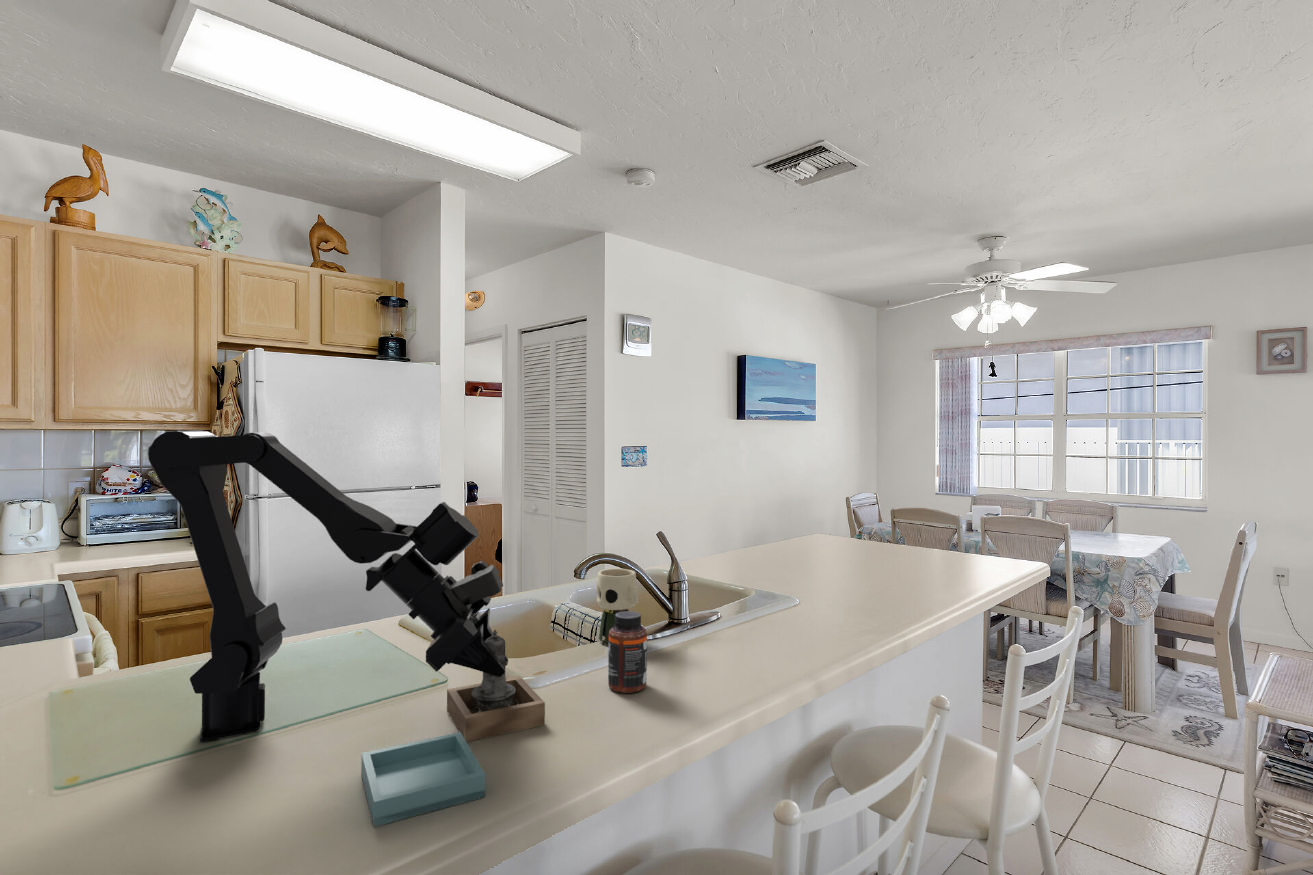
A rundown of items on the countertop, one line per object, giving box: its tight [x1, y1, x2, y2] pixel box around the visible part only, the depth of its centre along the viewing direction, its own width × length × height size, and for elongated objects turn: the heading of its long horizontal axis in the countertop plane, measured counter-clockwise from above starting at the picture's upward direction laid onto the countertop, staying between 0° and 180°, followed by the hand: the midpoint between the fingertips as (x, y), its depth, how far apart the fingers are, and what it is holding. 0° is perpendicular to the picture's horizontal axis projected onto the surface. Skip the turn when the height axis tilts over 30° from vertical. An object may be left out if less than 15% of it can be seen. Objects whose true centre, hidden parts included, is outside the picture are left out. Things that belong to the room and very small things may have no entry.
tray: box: [360, 731, 486, 828], centre depth 73 cm, size 11×11×2 cm
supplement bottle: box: [607, 610, 648, 694], centre depth 102 cm, size 6×6×11 cm
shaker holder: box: [446, 676, 546, 743], centre depth 90 cm, size 10×10×3 cm
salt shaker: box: [472, 629, 516, 713], centre depth 90 cm, size 6×6×12 cm
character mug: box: [596, 568, 639, 644], centre depth 123 cm, size 11×7×13 cm, turn 46°
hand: (504, 668), depth 90 cm, fingers closed on salt shaker, 4 cm apart
